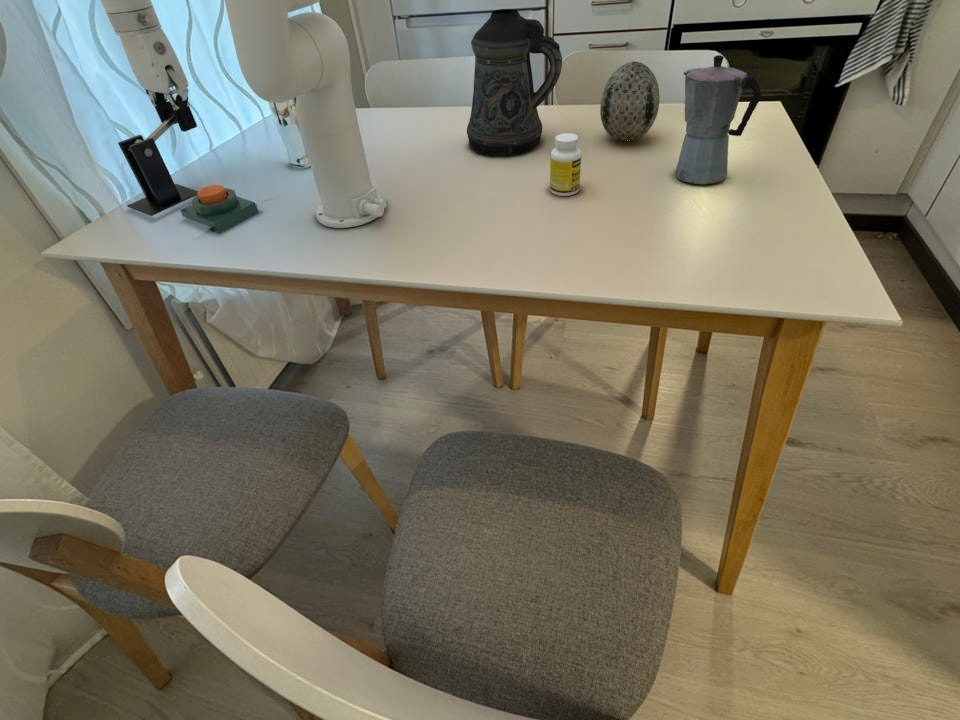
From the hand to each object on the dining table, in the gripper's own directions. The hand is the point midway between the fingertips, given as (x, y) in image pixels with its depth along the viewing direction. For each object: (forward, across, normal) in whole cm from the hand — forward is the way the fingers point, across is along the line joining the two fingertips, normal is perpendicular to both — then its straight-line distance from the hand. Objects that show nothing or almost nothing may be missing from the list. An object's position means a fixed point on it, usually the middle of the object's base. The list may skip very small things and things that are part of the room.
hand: (180, 126), depth 108 cm
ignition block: (+12, -16, +7) cm, 21 cm away
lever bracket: (+12, 0, +9) cm, 15 cm away
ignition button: (+9, -16, +7) cm, 20 cm away
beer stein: (+13, -47, -47) cm, 68 cm away
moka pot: (+13, -89, -47) cm, 101 cm away
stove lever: (+1, 0, +4) cm, 5 cm away
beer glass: (+13, -11, -18) cm, 24 cm away
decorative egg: (+13, -69, -58) cm, 91 cm away
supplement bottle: (+13, -69, -31) cm, 77 cm away
